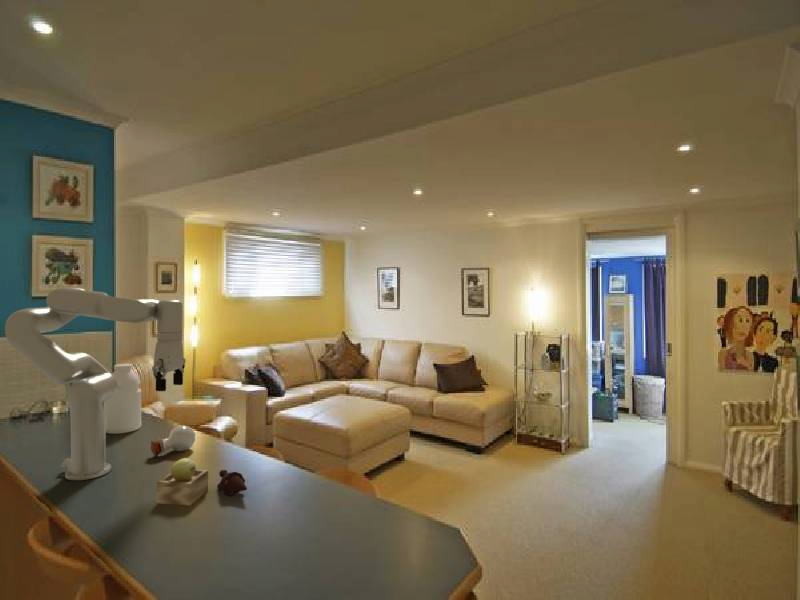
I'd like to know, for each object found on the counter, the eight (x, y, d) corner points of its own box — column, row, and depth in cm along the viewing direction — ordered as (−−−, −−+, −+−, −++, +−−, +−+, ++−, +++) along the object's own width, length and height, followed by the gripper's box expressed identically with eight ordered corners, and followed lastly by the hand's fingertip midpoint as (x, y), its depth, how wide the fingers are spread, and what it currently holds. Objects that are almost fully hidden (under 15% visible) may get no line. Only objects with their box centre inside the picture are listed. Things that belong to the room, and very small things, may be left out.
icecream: (259, 475, 137) (232, 466, 146) (237, 476, 131) (210, 467, 141) (255, 500, 135) (228, 490, 145) (232, 502, 130) (206, 491, 139)
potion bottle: (197, 450, 178) (158, 466, 166) (185, 432, 182) (146, 447, 170) (203, 435, 174) (163, 450, 162) (190, 416, 178) (150, 430, 166)
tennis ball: (190, 461, 133) (196, 452, 139) (165, 465, 132) (173, 457, 138) (193, 482, 133) (199, 473, 140) (169, 487, 132) (176, 477, 139)
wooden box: (157, 503, 131) (157, 481, 131) (177, 488, 141) (177, 468, 141) (190, 505, 131) (190, 483, 130) (208, 490, 141) (208, 470, 140)
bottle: (128, 434, 191) (129, 367, 190) (96, 434, 191) (96, 367, 191) (147, 424, 205) (148, 362, 204) (117, 424, 205) (117, 361, 205)
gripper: (174, 334, 162) (174, 382, 163) (142, 339, 145) (142, 393, 145) (194, 334, 161) (194, 382, 162) (165, 340, 144) (164, 394, 145)
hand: (169, 387), depth 154 cm, fingers open, 9 cm apart
